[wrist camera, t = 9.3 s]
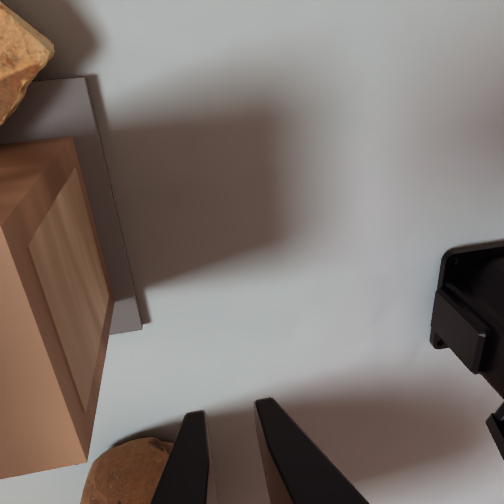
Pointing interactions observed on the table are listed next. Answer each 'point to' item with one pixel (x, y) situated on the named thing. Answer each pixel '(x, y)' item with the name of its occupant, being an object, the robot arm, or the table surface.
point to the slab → (48, 308)
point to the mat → (93, 172)
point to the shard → (19, 59)
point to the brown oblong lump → (127, 473)
